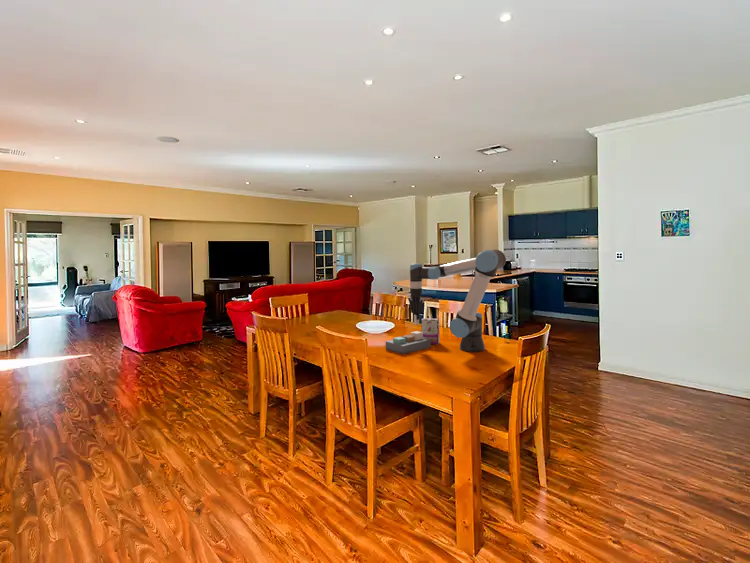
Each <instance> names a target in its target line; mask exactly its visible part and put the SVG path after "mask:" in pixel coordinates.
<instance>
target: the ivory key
mask: <svg viewBox="0 0 750 563" xmlns="http://www.w3.org/2000/svg"><path fill="white" fill-rule="evenodd" d="M410 335H411V336H414V340H420V339H423V332H421V331H418V330H416V331H411V332H410Z"/></svg>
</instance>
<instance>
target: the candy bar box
mask: <svg viewBox="0 0 750 563" xmlns="http://www.w3.org/2000/svg"><path fill="white" fill-rule="evenodd" d="M420 322H421V324H420V325H421V326H420V328H421V331H420V332H423V338H427V339H431V345H439V344H440V318H427V317H426V318H424V317H422V318H421V319H420Z"/></svg>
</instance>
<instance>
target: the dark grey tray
mask: <svg viewBox="0 0 750 563" xmlns="http://www.w3.org/2000/svg"><path fill="white" fill-rule="evenodd" d="M430 348H432V344H431V339H427V338H423V339H420V340H415V341H411V342H406V343H402V344H396V343H393V339H390V340H386V341H385V350H388V351H390V352H394V353H397V354H401V355H405V354H409V353H413V352H417V351H422V350H424V349H430Z"/></svg>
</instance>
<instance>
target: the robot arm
mask: <svg viewBox="0 0 750 563" xmlns="http://www.w3.org/2000/svg"><path fill="white" fill-rule="evenodd" d="M506 261H507V257H506V255H505V253H504V252H503V251H501V250H499V249H485V250H483V251H480V252H479V253H478V254H477V255H476V257H473V258H467V259H464V260H459V261H455V262H451V263H447V264H442V265H441V264H440V265H436V266H423V264H422V263H411V264H410V265H409V278H410V279H409V280H410V281H409V290H410V291H409V293H410V296H409V297H408V298H407V300H408V303H409V309H410V312H411V314H412V315H413V321H414V322H413V323H414V324H413V325H415V326H417V325H420V315H421V314H422V313H423V309H424V303H425V302H426V300H425V299H423V296H422V294H423V280H438V279H439V278H444V277H449V276H454V275H460V274H463V273H469V272H475V274H474V277H473V280H472V283H471V285H470V286H469V287H470V288H469V290H468V292H467V295H466V297H465V300H464V301H463V305H462V308H461V309H460V310H458V311H457V312H456V315H455V318H453V319H452V320H451V322H449V330H450V332H451V334H452V335H453V336H455V337H456V338H461V340H460V343H459V349H460V350H461V351H465V352H469V353H470V352H471V353H473V352H474V353H478V352H483V351H485V350H486V345H485V343H484V340H483V315H482V313H480V312H478V311H479V307H480V305H481V303H482V300H483V298H484V296H485V293H486V292H487V288H488V285H489V284H490V280H491V279H493V278H495V276H496V273H497V272H498V271H499V270H501V269H502V268H503V267H504V266H505V265H506Z"/></svg>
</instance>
